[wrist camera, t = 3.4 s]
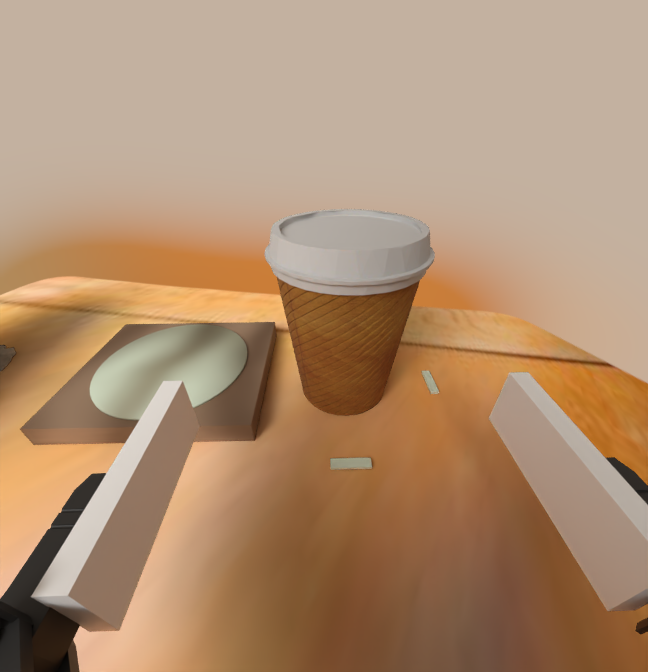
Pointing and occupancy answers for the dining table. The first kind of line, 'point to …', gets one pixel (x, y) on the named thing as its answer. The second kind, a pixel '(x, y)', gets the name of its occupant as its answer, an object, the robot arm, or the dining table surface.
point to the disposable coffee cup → (347, 298)
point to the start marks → (365, 462)
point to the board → (151, 370)
